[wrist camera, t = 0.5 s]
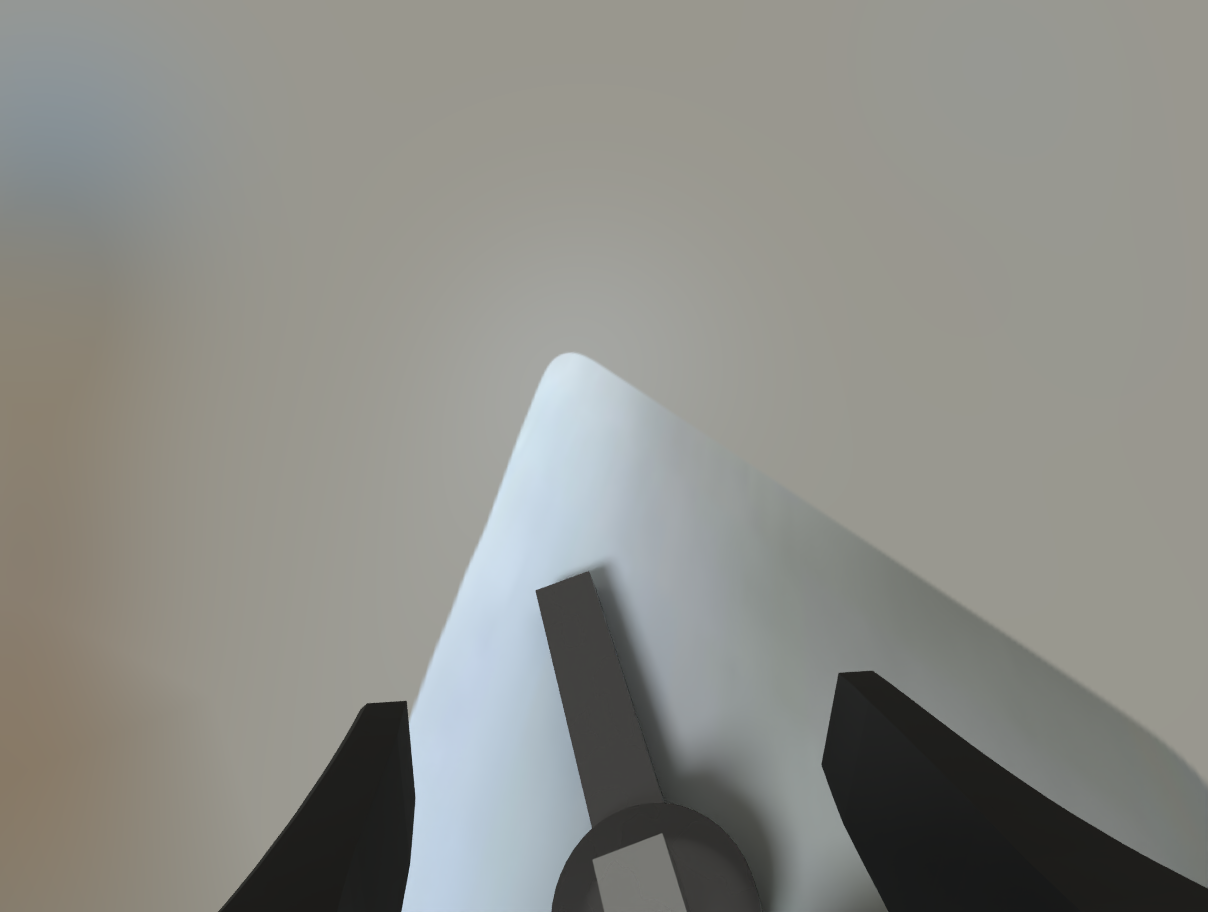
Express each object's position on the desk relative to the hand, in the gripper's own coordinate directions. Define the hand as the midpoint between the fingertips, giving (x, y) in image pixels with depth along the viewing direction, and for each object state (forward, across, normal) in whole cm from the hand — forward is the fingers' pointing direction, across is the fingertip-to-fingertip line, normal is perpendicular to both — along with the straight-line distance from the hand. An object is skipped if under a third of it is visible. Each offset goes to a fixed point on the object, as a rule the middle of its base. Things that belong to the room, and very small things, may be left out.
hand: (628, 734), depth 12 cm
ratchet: (+13, -2, +15) cm, 20 cm away
